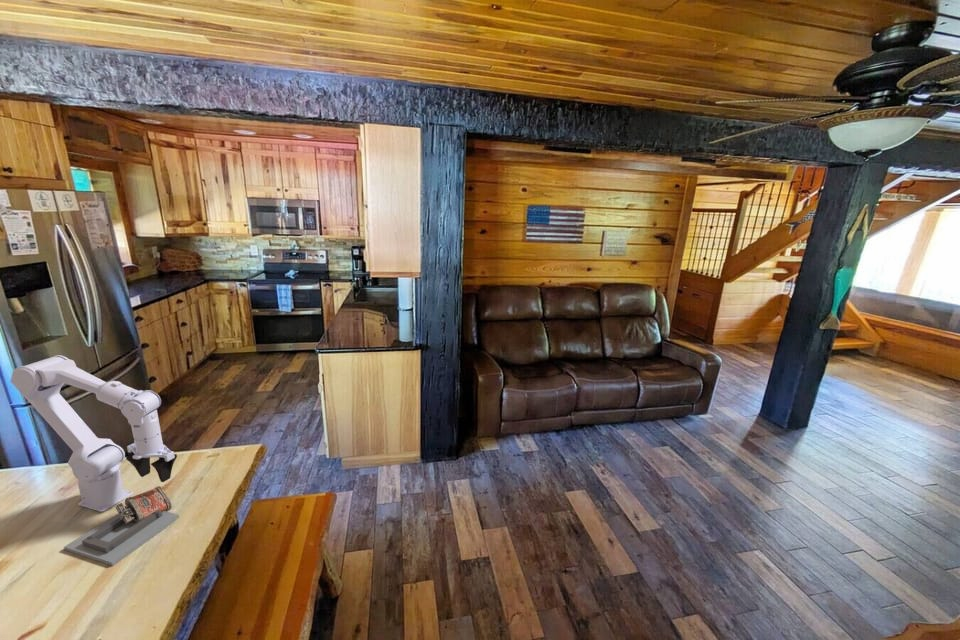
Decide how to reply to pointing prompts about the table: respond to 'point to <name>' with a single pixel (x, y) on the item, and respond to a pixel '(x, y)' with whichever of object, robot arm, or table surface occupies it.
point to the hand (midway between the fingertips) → (155, 477)
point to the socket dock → (119, 537)
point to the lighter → (144, 505)
